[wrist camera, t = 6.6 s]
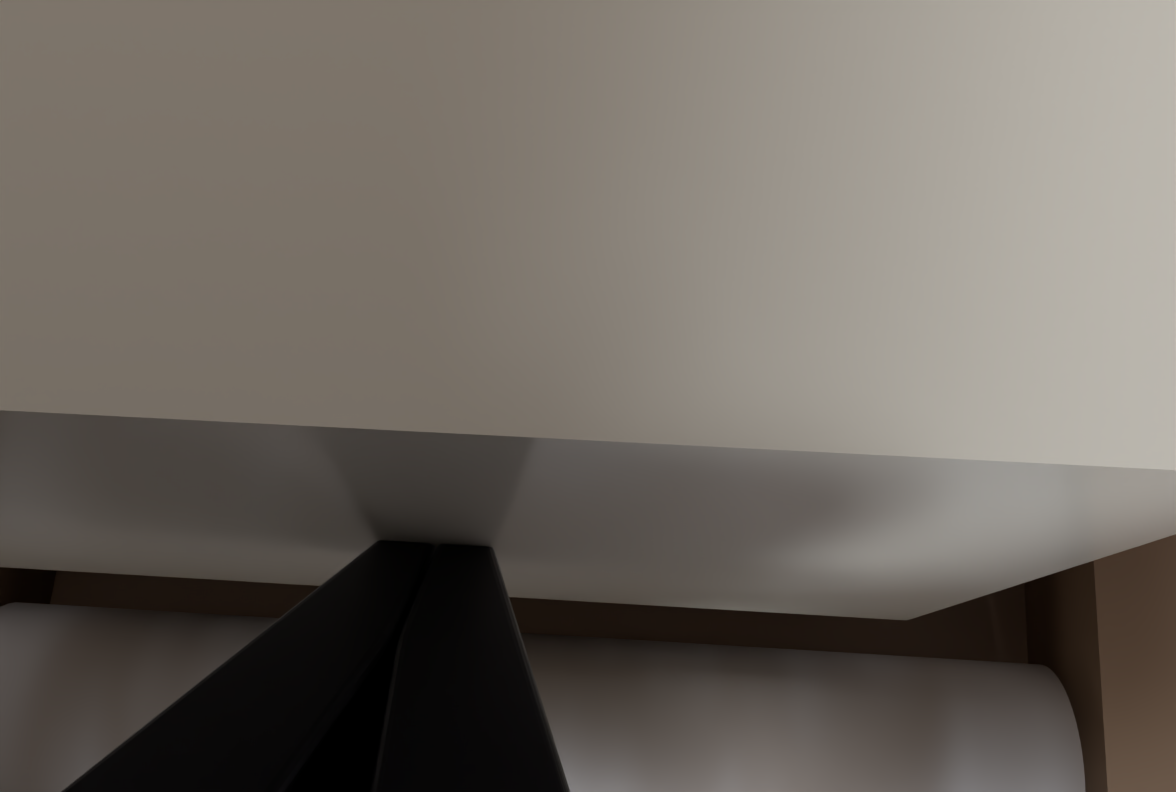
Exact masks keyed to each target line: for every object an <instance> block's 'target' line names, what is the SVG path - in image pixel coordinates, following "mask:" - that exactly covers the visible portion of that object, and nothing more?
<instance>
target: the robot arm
mask: <svg viewBox="0 0 1176 792" xmlns="http://www.w3.org/2000/svg"><path fill="white" fill-rule="evenodd" d="M61 792H570V789H569V786H568V783H567V780H566V777H565V773H564V770H563V767H562V764H561V761H560V757H559V754H558V751H557V748H556V745H555V742H554V738H553V735H552V732H551V729H550V726H549V722H548V719H547V716H546V713H545V710H544V707H543V703H542V700H541V697H540V694H539V691H538V687H537V684H536V681H535V678H534V675H533V672H532V668H531V665H530V662H529V659H528V656H527V652H526V649H525V646H524V643H523V640H522V637H521V633H520V630H519V627H518V624H517V621H516V618H515V614H514V611H513V608H512V605H511V602H510V598H509V595H508V592H507V589H506V586H505V583H504V579H503V576H502V573H501V570H500V567H499V563H498V560H497V557H496V554H495V551H494V549H493V548H492V547H489V546H475V545H457V544H439V545H438V546H437V548H436V547H435V546H434V545H432V544H429V543H422V542H405V541H388V540H378V541H376V542H375V543H374V544H372V545H371V546H370V547H369V548H367V549H366V550H365V551H364V552H362V553H361V554H360V555H359V556H357V557H356V558H355V559H353V560H352V561H351V562H350V563H348V564H347V565H346V566H345V567H343V568H342V569H341V570H340V571H338V572H337V573H336V574H335V575H333V576H332V577H331V578H329V579H328V580H327V581H326V582H324V583H323V584H322V585H321V586H319V587H318V588H317V589H316V590H314V591H313V592H312V593H311V594H309V595H308V596H307V597H306V598H304V599H303V600H302V601H300V602H299V603H298V604H297V605H295V606H294V607H293V608H292V609H290V610H289V611H288V612H287V613H285V614H284V615H283V616H282V617H280V618H279V619H278V620H277V621H275V622H274V623H273V624H271V625H270V626H269V627H268V628H266V629H265V630H264V631H263V632H261V633H260V634H259V635H258V636H256V637H255V638H254V639H253V640H251V641H250V642H249V643H248V644H246V645H245V646H244V647H242V648H241V649H240V650H239V651H237V652H236V653H235V654H234V655H232V656H231V657H230V658H229V659H227V660H226V661H225V662H224V663H222V664H221V665H220V666H219V667H217V668H216V669H215V670H213V671H212V672H211V673H210V674H208V675H207V676H206V677H205V678H203V679H202V680H201V681H200V682H198V683H197V684H196V685H195V686H193V687H192V688H191V689H190V690H188V691H187V692H186V693H184V694H183V695H182V696H181V697H179V698H178V699H177V700H176V701H174V702H173V703H172V704H171V705H169V706H168V707H167V708H166V709H164V710H163V711H162V712H160V713H159V714H158V715H157V716H155V717H154V718H153V719H152V720H150V721H149V722H148V723H147V724H145V725H144V726H143V727H142V728H140V729H139V730H138V731H137V732H135V733H134V734H133V735H131V736H130V737H129V738H128V739H126V740H125V741H124V742H123V743H121V744H120V745H119V746H118V747H116V748H115V749H114V750H113V751H111V752H110V753H109V754H108V755H106V756H105V757H104V758H102V759H101V760H100V761H99V762H97V763H96V764H95V765H94V766H92V767H91V768H90V769H89V770H87V771H86V772H85V773H84V774H82V775H81V776H80V777H79V778H77V779H76V780H75V781H73V782H72V783H71V784H70V785H68V786H67V787H66V788H65V789H63V790H62V791H61Z"/></svg>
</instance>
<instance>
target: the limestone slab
mask: <svg viewBox="0 0 1176 792" xmlns="http://www.w3.org/2000/svg"><path fill="white" fill-rule="evenodd" d="M1175 534H1176V0H0V567H9V568H25V569H42V570H59V571H76V572H93V573H110V574H127V575H144V576H161V577H178V578H195V579H212V580H229V581H246V582H263V583H280V584H297V585H314V586H321V585H322V584H323V583H324V582H326V581H327V580H328V579H329V578H331V577H332V576H333V575H335V574H336V573H337V572H338V571H340V570H341V569H342V568H343V567H345V566H346V565H347V564H348V563H350V562H351V561H352V560H353V559H355V558H356V557H357V556H359V555H360V554H361V553H362V552H364V551H365V550H366V549H367V548H369V547H370V546H371V545H372V544H374V543H375V542H376V541H378V540H388V541H405V542H422V543H429V544H432V545H434V546H435V547H436V548H437V546H438V545H439V544H457V545H475V546H489V547H492V548H493V549H494V551H495V554H496V557H497V560H498V563H499V567H500V570H501V573H502V576H503V579H504V583H505V586H506V589H507V592H508V595H509V597H518V598H535V599H552V600H569V601H585V602H602V603H619V604H636V605H653V606H670V607H687V608H704V609H721V610H738V611H755V612H772V613H789V614H806V615H823V616H840V617H857V618H874V619H891V620H910V619H913V618H916V617H919V616H922V615H925V614H929V613H932V612H935V611H938V610H941V609H944V608H947V607H950V606H954V605H957V604H960V603H963V602H966V601H969V600H972V599H975V598H978V597H982V596H985V595H988V594H991V593H994V592H997V591H1000V590H1003V589H1007V588H1010V587H1013V586H1016V585H1019V584H1022V583H1025V582H1028V581H1031V580H1035V579H1038V578H1041V577H1044V576H1047V575H1050V574H1053V573H1056V572H1060V571H1063V570H1066V569H1069V568H1072V567H1075V566H1078V565H1081V564H1085V563H1088V562H1091V561H1094V560H1097V559H1100V558H1103V557H1106V556H1109V555H1113V554H1116V553H1119V552H1122V551H1125V550H1128V549H1131V548H1134V547H1138V546H1141V545H1144V544H1147V543H1150V542H1153V541H1156V540H1159V539H1162V538H1166V537H1169V536H1172V535H1175Z"/></svg>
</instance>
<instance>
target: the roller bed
mask: <svg viewBox="0 0 1176 792" xmlns="http://www.w3.org/2000/svg"><path fill="white" fill-rule="evenodd" d="M318 587H319V586H314V585H297V584H280V583H263V582H246V581H229V580H212V579H195V578H178V577H161V576H144V575H127V574H110V573H93V572H76V571H59V570H42V569H25V568H9V567H0V792H61V791H62V790H63V789H65V788H66V787H67V786H68V785H70V784H71V783H72V782H73V781H75V780H76V779H77V778H79V777H80V776H81V775H82V774H84V773H85V772H86V771H87V770H89V769H90V768H91V767H92V766H94V765H95V764H96V763H97V762H99V761H100V760H101V759H102V758H104V757H105V756H106V755H108V754H109V753H110V752H111V751H113V750H114V749H115V748H116V747H118V746H119V745H120V744H121V743H123V742H124V741H125V740H126V739H128V738H129V737H130V736H131V735H133V734H134V733H135V732H137V731H138V730H139V729H140V728H142V727H143V726H144V725H145V724H147V723H148V722H149V721H150V720H152V719H153V718H154V717H155V716H157V715H158V714H159V713H160V712H162V711H163V710H164V709H166V708H167V707H168V706H169V705H171V704H172V703H173V702H174V701H176V700H177V699H178V698H179V697H181V696H182V695H183V694H184V693H186V692H187V691H188V690H190V689H191V688H192V687H193V686H195V685H196V684H197V683H198V682H200V681H201V680H202V679H203V678H205V677H206V676H207V675H208V674H210V673H211V672H212V671H213V670H215V669H216V668H217V667H219V666H220V665H221V664H222V663H224V662H225V661H226V660H227V659H229V658H230V657H231V656H232V655H234V654H235V653H236V652H237V651H239V650H240V649H241V648H242V647H244V646H245V645H246V644H248V643H249V642H250V641H251V640H253V639H254V638H255V637H256V636H258V635H259V634H260V633H261V632H263V631H264V630H265V629H266V628H268V627H269V626H270V625H271V624H273V623H274V622H275V621H277V620H278V619H279V618H280V617H282V616H283V615H284V614H285V613H287V612H288V611H289V610H290V609H292V608H293V607H294V606H295V605H297V604H298V603H299V602H300V601H302V600H303V599H304V598H306V597H307V596H308V595H309V594H311V593H312V592H313V591H314V590H316V589H317V588H318ZM509 598H510V602H511V605H512V608H513V611H514V614H515V618H516V621H517V624H518V627H519V630H520V633H521V637H522V640H523V643H524V646H525V649H526V652H527V656H528V659H529V662H530V665H531V668H532V672H533V675H534V678H535V681H536V684H537V687H538V691H539V694H540V697H541V700H542V703H543V707H544V710H545V713H546V716H547V719H548V722H549V726H550V729H551V732H552V735H553V738H554V742H555V745H556V748H557V751H558V754H559V757H560V761H561V764H562V767H563V770H564V773H565V777H566V780H567V783H568V786H569V789H570V792H1176V534H1175V535H1172V536H1169V537H1166V538H1162V539H1159V540H1156V541H1153V542H1150V543H1147V544H1144V545H1141V546H1138V547H1134V548H1131V549H1128V550H1125V551H1122V552H1119V553H1116V554H1113V555H1109V556H1106V557H1103V558H1100V559H1097V560H1094V561H1091V562H1088V563H1085V564H1081V565H1078V566H1075V567H1072V568H1069V569H1066V570H1063V571H1060V572H1056V573H1053V574H1050V575H1047V576H1044V577H1041V578H1038V579H1035V580H1031V581H1028V582H1025V583H1022V584H1019V585H1016V586H1013V587H1010V588H1007V589H1003V590H1000V591H997V592H994V593H991V594H988V595H985V596H982V597H978V598H975V599H972V600H969V601H966V602H963V603H960V604H957V605H954V606H950V607H947V608H944V609H941V610H938V611H935V612H932V613H929V614H925V615H922V616H919V617H916V618H913V619H910V620H891V619H874V618H857V617H840V616H823V615H806V614H789V613H772V612H755V611H738V610H721V609H704V608H687V607H670V606H653V605H636V604H619V603H602V602H585V601H569V600H552V599H535V598H518V597H509Z"/></svg>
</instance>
